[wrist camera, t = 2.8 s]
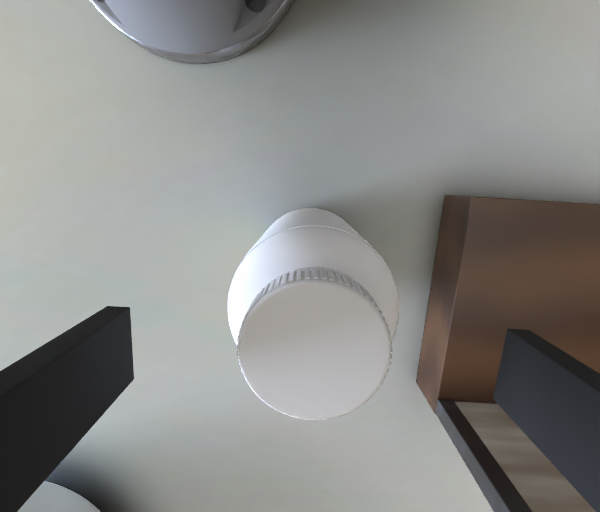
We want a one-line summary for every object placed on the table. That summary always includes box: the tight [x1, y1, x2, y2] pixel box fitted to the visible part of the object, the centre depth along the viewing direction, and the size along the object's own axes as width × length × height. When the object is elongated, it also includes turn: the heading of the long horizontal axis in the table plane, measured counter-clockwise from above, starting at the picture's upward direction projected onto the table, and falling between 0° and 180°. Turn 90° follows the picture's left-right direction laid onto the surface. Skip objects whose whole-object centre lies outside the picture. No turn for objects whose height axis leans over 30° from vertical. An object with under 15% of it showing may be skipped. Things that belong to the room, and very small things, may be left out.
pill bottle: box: [227, 208, 399, 420], centre depth 18 cm, size 8×8×15 cm
